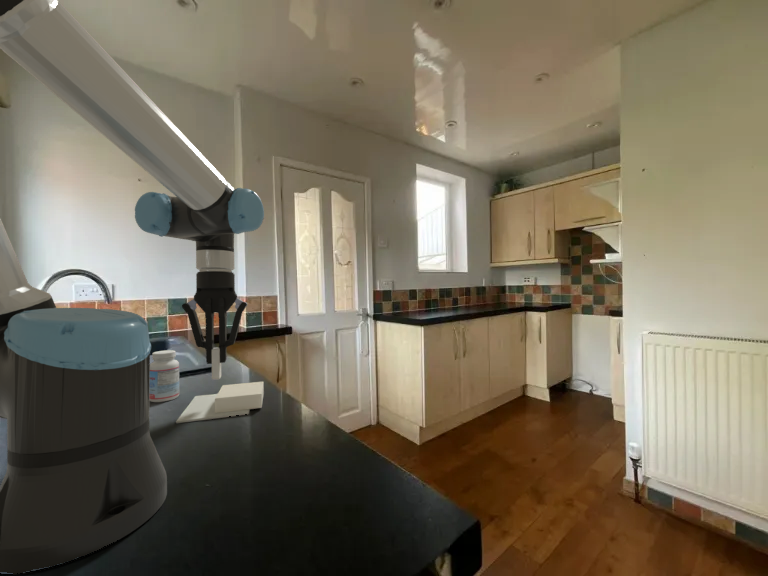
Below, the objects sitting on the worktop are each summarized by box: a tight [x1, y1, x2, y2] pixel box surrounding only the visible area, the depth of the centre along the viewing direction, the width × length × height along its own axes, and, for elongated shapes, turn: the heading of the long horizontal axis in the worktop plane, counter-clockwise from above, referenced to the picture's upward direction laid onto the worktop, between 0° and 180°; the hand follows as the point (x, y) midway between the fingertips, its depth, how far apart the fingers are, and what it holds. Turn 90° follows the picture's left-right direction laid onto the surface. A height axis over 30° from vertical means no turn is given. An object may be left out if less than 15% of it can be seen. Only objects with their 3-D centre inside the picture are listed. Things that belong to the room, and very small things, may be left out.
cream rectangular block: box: [215, 381, 265, 413], centre depth 73 cm, size 10×3×9 cm
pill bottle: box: [149, 349, 180, 403], centre depth 77 cm, size 6×6×11 cm
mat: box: [175, 393, 251, 424], centre depth 72 cm, size 16×13×1 cm
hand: (216, 377), depth 71 cm, fingers closed
